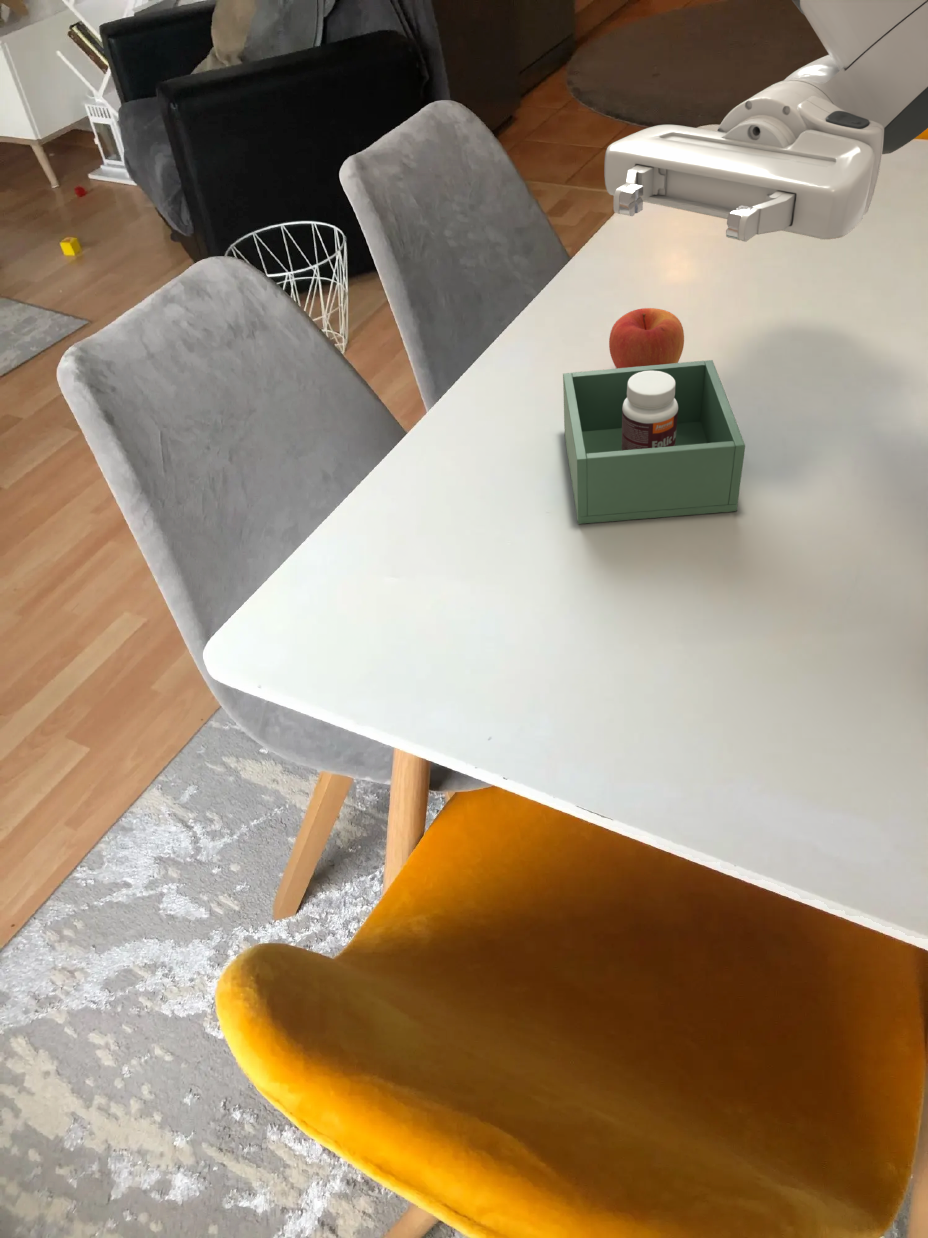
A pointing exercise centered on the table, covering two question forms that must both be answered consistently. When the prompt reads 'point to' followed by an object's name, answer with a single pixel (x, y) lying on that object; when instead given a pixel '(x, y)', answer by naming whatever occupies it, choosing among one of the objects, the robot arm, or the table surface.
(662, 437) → the pill bottle
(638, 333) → the apple
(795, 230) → the robot arm
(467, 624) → the table surface
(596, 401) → the bin
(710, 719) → the table surface
